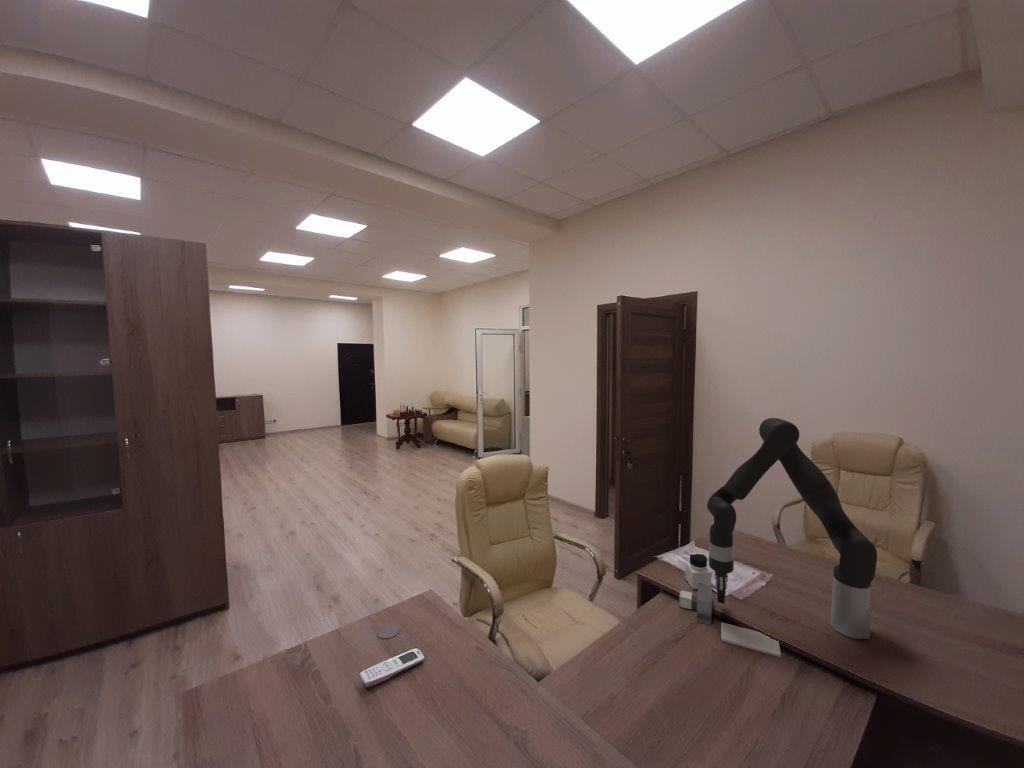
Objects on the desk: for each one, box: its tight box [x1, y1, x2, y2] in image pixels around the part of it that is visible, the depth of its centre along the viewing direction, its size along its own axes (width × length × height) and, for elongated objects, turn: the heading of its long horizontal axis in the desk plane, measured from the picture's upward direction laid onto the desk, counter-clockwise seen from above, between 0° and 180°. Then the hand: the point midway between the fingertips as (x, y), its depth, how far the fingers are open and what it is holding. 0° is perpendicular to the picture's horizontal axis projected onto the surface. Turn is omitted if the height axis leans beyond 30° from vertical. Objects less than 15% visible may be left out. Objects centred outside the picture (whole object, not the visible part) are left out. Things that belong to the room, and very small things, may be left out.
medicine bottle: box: [684, 552, 712, 590], centre depth 156 cm, size 7×7×12 cm
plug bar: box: [678, 590, 715, 615], centre depth 143 cm, size 11×4×4 cm, turn 63°
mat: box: [720, 621, 782, 658], centre depth 127 cm, size 16×8×1 cm, turn 63°
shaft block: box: [695, 583, 713, 626], centre depth 141 cm, size 4×15×7 cm, turn 153°
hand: (721, 601), depth 139 cm, fingers closed
